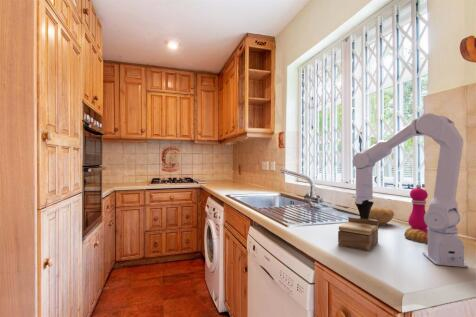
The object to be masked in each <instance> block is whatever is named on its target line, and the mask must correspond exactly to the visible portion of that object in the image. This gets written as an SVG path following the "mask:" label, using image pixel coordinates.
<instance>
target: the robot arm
mask: <svg viewBox="0 0 476 317" xmlns="http://www.w3.org/2000/svg"><path fill="white" fill-rule="evenodd" d="M418 136H419V137H422V136H425V137H429V138H431V140H433V141H435V143H437V144H438V145H439V152H438V161H437V168H436V176H435V184H434V190H433V191H434V192H433V198H432V199H431V201H430V203H429V205H428V206H429V207H428V209H427V211H425V212H426V213H425V215H424V221H425V223H426V225H427V226H428V228H427V230H428V243H427V251H422V254H423V255H424V256H425V258H427V259H429V261H430V262H432V263H433V264H434V265H438V266H448V267H449V266H451V267H463V268H468V267H469V265H468V264H466V263H465V244H464V242H463V241H462V239H461V238H459V234H458V233H459V230H458V227H457V225H458V224H459V223H460V221H461V215H460V213H459V210H458V209H459V208H458V207H459V204H458V202H457V200H456V197H457V189H458V182H459V176H460V170H461V161H462V155H463V153H462V152H463V147H464V138H463V136H462V134H461V133H460V132H459V130H458V129H457V127H456V125H455V121H452V120H451V119H450V118H448V117H447V116H444V115H438V114H434V113H431V112H429V113H424V114H422V115H419V117H418V118H415V119H413V120H411V122H409V124H407V125H406V126H405V127H403V128H402V129H400V130H399V131H397V132H396V133H394V134H393V135H392V136H390V137H389V138H388V139H387V140H379V141H378V140H376V141H375V142H373V145H372V146H370V147H369V148H365V149H364V150H363V152H357V153H356V154H355V155H354V156H353V157H352V164H353V166H354V167H355V194H354V195H352V198H354V199H355V201H354V204H355V207H356V208H357V210H358V214H359V218H365V219H368V218H369V213H370V210H371V208H373V205H374V204H375V203H374V201H371V200H374V196H373V191H374V190H373V170H374V166H376V163H379V161H382V160H383V159H384V158H386V157H388V156H390V155H391V154H392V150H393V148H396V147H397V146H399V145H401V144H402V143H405V142H406V141H408V140H410V139H412V138H413V137H418Z"/></svg>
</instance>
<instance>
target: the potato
mask: <svg viewBox="0 0 476 317" xmlns="http://www.w3.org/2000/svg"><path fill="white" fill-rule="evenodd" d="M394 216H395V214H394V211H393V210H392V209H391V208H389V207H381V206H380V207H379V206H378V207H377V206H376V207H371V210H370V213H369V218H368V219H373V220H378V226H384V225H386V224H388V223H389V222H390V221H391V220H393V218H394Z"/></svg>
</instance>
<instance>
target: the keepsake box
mask: <svg viewBox="0 0 476 317" xmlns="http://www.w3.org/2000/svg"><path fill="white" fill-rule="evenodd" d="M337 238H338V239H337V246H339V247H344V248H349V249H353V250H358V251H363V252H368V253H369V252H371V250H373V248H375V246H376V245H378V244H379V228H378V229H376V230H375V231H374V232H373V233H371V234H370V235H365V234H359V233H353V232H347V231H341V230H338V231H337Z"/></svg>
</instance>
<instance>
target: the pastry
mask: <svg viewBox="0 0 476 317" xmlns="http://www.w3.org/2000/svg"><path fill="white" fill-rule="evenodd" d="M403 236H404V237H405V238H406V239H410V240H411V241H414V242H417V243H423V244H428V233H425V232H424V231H422V230H418V229H413V228H411V227H408V228H406V230H405V232H404V234H403Z"/></svg>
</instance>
